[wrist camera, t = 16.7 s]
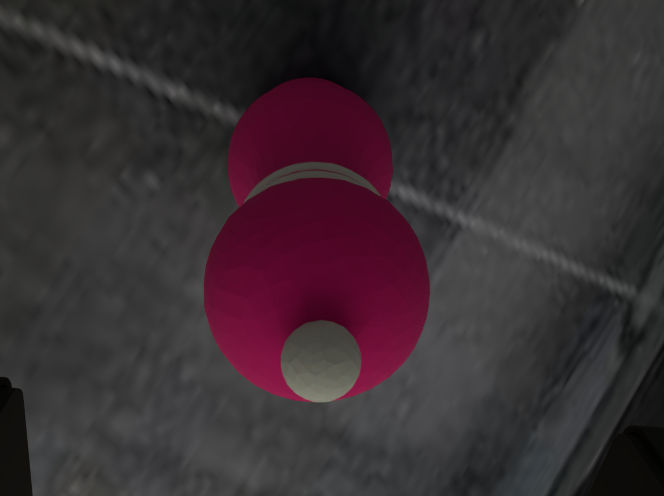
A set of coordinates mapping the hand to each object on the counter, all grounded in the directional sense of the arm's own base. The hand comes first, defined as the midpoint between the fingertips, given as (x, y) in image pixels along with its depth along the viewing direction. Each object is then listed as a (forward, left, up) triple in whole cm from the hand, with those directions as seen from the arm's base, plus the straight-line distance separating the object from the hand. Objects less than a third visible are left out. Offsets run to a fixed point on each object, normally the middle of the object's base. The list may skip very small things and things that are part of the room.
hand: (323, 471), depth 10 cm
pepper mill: (0, 0, -23) cm, 23 cm away
